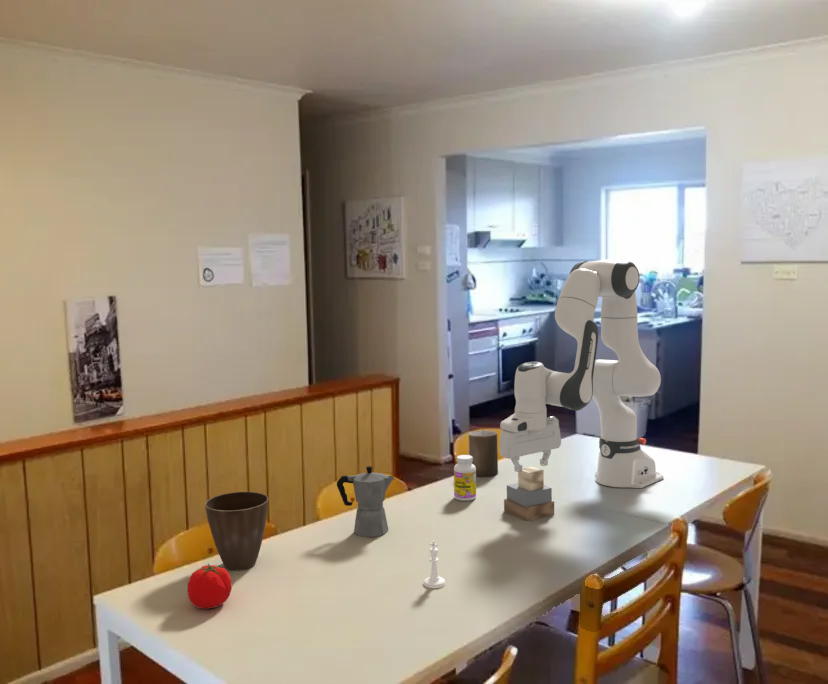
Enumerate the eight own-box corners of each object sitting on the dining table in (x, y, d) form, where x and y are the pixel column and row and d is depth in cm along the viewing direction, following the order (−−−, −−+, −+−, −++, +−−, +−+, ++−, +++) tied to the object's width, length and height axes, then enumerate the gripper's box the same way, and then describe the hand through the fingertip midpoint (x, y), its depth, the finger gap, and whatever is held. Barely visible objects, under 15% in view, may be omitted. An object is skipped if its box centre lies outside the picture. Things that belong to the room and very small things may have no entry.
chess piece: (438, 590, 171) (437, 546, 170) (419, 585, 174) (418, 542, 172) (449, 581, 175) (448, 539, 174) (430, 577, 178) (429, 535, 177)
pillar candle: (499, 476, 256) (498, 432, 254) (469, 477, 256) (469, 432, 255) (496, 469, 266) (496, 426, 264) (468, 469, 266) (467, 426, 264)
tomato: (191, 618, 160) (188, 579, 160) (184, 599, 170) (182, 562, 169) (236, 609, 164) (234, 571, 163) (227, 590, 174) (225, 554, 173)
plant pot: (204, 559, 192) (200, 496, 190) (263, 548, 198) (260, 487, 196) (213, 581, 178) (210, 514, 177) (277, 569, 184) (274, 504, 182)
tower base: (530, 506, 227) (530, 492, 227) (554, 515, 219) (554, 501, 218) (504, 512, 222) (504, 499, 221) (527, 522, 213) (527, 508, 213)
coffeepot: (395, 524, 213) (393, 460, 211) (396, 536, 204) (394, 470, 202) (339, 526, 213) (337, 462, 211) (337, 539, 203) (334, 472, 201)
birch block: (531, 483, 223) (531, 466, 222) (543, 487, 218) (543, 470, 218) (518, 486, 220) (518, 469, 219) (530, 490, 216) (530, 473, 215)
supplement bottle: (451, 500, 233) (450, 458, 231) (458, 493, 239) (457, 453, 237) (472, 502, 230) (471, 460, 229) (479, 495, 236) (478, 454, 235)
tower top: (532, 493, 226) (532, 480, 226) (551, 501, 218) (551, 487, 218) (506, 498, 222) (506, 485, 221) (525, 507, 214) (525, 493, 213)
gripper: (550, 413, 225) (551, 459, 227) (495, 423, 214) (496, 472, 216) (565, 416, 220) (566, 464, 221) (510, 427, 209) (510, 477, 211)
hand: (531, 468), depth 219 cm, fingers open, 8 cm apart
